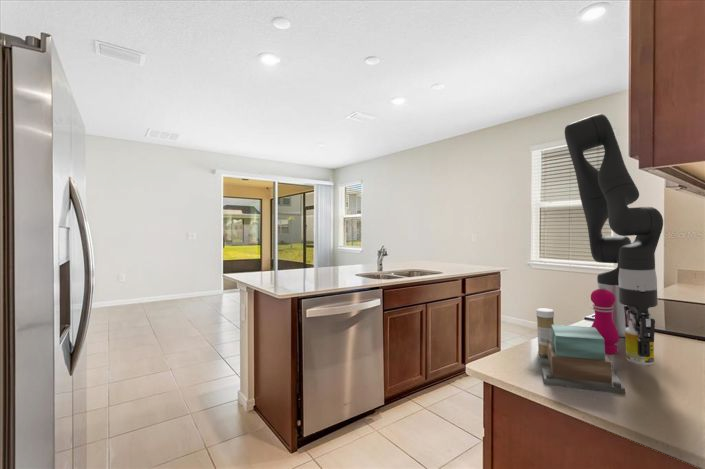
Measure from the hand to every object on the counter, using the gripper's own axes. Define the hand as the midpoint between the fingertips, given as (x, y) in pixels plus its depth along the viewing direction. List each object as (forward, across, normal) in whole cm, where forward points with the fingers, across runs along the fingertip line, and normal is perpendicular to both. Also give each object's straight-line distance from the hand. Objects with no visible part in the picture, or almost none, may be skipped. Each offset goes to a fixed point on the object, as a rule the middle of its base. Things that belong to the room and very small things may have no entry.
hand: (639, 351), depth 88 cm
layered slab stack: (+5, +6, -15) cm, 17 cm away
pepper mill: (+6, -15, -4) cm, 16 cm away
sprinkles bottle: (+6, -7, -20) cm, 22 cm away
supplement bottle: (+3, 0, 0) cm, 3 cm away
